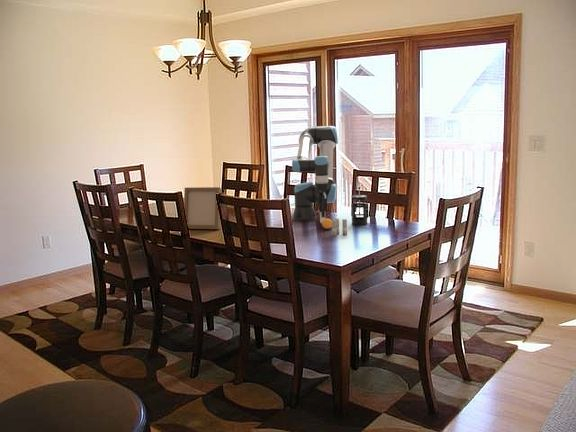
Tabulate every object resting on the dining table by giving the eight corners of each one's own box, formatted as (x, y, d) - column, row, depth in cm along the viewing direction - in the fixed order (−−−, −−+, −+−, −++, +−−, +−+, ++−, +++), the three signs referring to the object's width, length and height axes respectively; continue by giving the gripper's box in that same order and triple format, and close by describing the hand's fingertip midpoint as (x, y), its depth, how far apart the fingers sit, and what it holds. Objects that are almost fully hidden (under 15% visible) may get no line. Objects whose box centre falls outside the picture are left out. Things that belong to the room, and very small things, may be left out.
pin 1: (331, 235, 304) (331, 220, 303) (335, 235, 305) (335, 219, 303) (333, 236, 302) (333, 221, 300) (337, 235, 303) (337, 220, 301)
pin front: (334, 233, 309) (333, 218, 307) (338, 233, 310) (337, 218, 308) (335, 234, 307) (335, 219, 305) (339, 234, 307) (339, 218, 306)
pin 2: (341, 234, 306) (341, 219, 304) (346, 234, 307) (345, 218, 305) (343, 235, 304) (343, 220, 302) (347, 234, 304) (347, 219, 303)
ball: (320, 228, 324) (320, 218, 323) (330, 227, 326) (330, 217, 325) (324, 230, 319) (324, 219, 318) (334, 229, 320) (333, 219, 319)
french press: (358, 226, 326) (357, 187, 322) (347, 224, 334) (347, 186, 330) (372, 223, 333) (372, 185, 329) (362, 221, 340) (361, 184, 336)
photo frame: (217, 230, 327) (215, 188, 323) (183, 230, 332) (180, 188, 328) (226, 225, 342) (224, 185, 337) (193, 225, 346) (190, 185, 342)
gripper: (312, 182, 329) (313, 221, 333) (319, 183, 317) (320, 224, 320) (324, 181, 331) (324, 220, 335) (331, 183, 319) (332, 223, 322)
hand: (322, 222), depth 328 cm, fingers closed
